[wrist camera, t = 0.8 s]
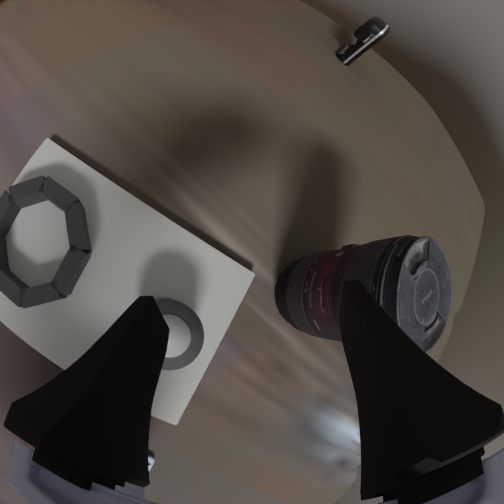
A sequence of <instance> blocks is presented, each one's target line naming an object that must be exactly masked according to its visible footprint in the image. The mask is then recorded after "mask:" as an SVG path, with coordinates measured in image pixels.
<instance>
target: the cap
mask: <svg viewBox="0 0 504 504" xmlns="http://www.w3.org/2000/svg"><path fill="white" fill-rule="evenodd" d="M154 299H155V301H156V303H157V305H158V307H159V309H160V311H161V313H162V315H163V317H164V319H165V321H166V323H167V325H168V327H169V329H170V332H169V339H168V346H167V352H166V355H165V359H164V363H163V366H162V370H177V369H181V368H183V367H185V366H187V365H189V364H190V363H192V362H193V361H194V360H195V359H196V358H197V356H198V355H199V353H200V351H201V349H202V346H203V342H204V330H203V325H202V323H201V321H200V319H199V317H198V316H197V314H196V313H195V312H194V311H193V310H192V309H191V308H190V307H188V306H187V305H185V304H183V303H181V302H179V301H177V300H174V299H172V298H168V297H157V298H154Z"/></svg>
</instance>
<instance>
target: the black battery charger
mask: <svg viewBox="0 0 504 504" xmlns="http://www.w3.org/2000/svg"><path fill="white" fill-rule="evenodd" d="M389 31H390V27H389V26H388V25H387V24H386V23H385V22H384V21H382V20H381V19H380V18H379V17H373V18H371V19H369V20H368V21H367V22H365V23H364V24H363V25H361V26H360V27H359V28H358V29H357V30H356V31H355V33H354V35H355V37H356V38H357V39H358V40H357V44H354V45H351V46H343V47H342V48H341V49H340V50H339V51H338V52H337V56H338V58H339V59H340V60H341V61H343V63H344V64H346V65H350V64H351V63H352V62H353V61H355V60H356V59H357V58H358V57H360V56H361V55H362V54H363V53H365V52H366V51H367V50H368V49H370V48H371V47H372V46H374V45H375V44H376V43H377V42H379V41H380V40H381V39H383V38H384V37H385V36H386V35H387V34H388V33H389Z"/></svg>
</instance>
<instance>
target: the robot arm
mask: <svg viewBox="0 0 504 504" xmlns="http://www.w3.org/2000/svg"><path fill="white" fill-rule="evenodd" d="M339 324H340V331H341V337H342V343H343V347H344V351H345V355H346V358H347V362H348V366H349V370H350V374H351V378H352V382H353V386H354V390H355V394H356V400H357V406H358V415H359V426H360V440H361V489H360V492H361V500H366V499H371V498H376V497H380V496H383V502H382V503H378V504H504V448H503V449H502V450H500V451H498V452H497V453H495V454H494V455H492V456H490V457H488V458H487V459H484V460H482V461H481V456H483V455H484V453H485V451H484V447H483V446H484V445H486V444H488V443H489V442H491V441H492V440H494V439H496V438H497V437H498V436H500V435H501V434H503V433H504V412H503V409H502V407H501V405H500V404H498V403H496V402H494V401H493V400H491V399H489V398H487V397H485V396H484V395H482V394H480V393H478V392H477V391H475V390H473V389H472V388H470V387H469V386H467V385H466V384H464V383H463V382H461V381H460V380H458V379H457V378H456V377H454V376H453V375H452V374H451V373H449V372H448V371H447V370H445V369H444V368H443V367H441V366H440V365H439V364H438V363H437V362H435V361H434V360H433V359H432V358H431V357H430V356H428V355H427V354H426V353H425V352H424V351H423V350H422V349H421V348H420V347H419V346H418V345H417V344H416V343H415V342H414V341H413V340H412V339H411V338H410V337H409V336H408V335H407V334H406V333H405V332H404V331H403V330H402V329H401V328H400V327H399V326H398V325H397V324H396V322H395V321H394V320H393V319H392V318H391V317H390V316H389V314H388V313H387V312H386V311H385V310H384V309H383V308H382V306H381V305H380V304H379V303H378V302H377V300H376V299H375V298H374V297H373V296H372V294H371V293H370V292H369V291H368V289H367V288H366V287H365V286H364V285H363V283H362V282H361V281H360V280H352V281H343V286H342V296H341V305H340V314H339ZM169 332H170V329H169V327H168V325H167V323H166V321H165V319H164V317H163V315H162V313H161V311H160V309H159V307H158V305H157V303H156V301H155V299H154V297H153V296H139V297H138V298H137V299H136V300H135V301H134V302H133V303H132V304H131V305H130V306H129V307H128V308H127V309H126V310H125V312H124V313H123V314H122V315H121V316H120V317H119V318H118V319H117V320H116V321H115V322H114V323H113V324H112V325H111V327H110V328H109V329H108V330H107V331H106V332H105V333H104V334H103V335H102V336H101V337H100V338H99V339H98V340H97V341H96V342H95V343H94V344H93V345H92V346H91V347H90V348H89V349H88V350H87V351H86V352H85V353H84V354H83V355H82V356H81V357H80V358H79V359H78V360H76V361H75V362H74V363H73V364H72V365H71V366H69V367H68V368H67V369H66V370H64V371H63V372H62V373H60V374H59V375H58V376H56V377H55V378H54V379H52V380H51V381H50V382H48V383H47V384H45V385H44V386H42V387H40V388H39V389H37V390H35V391H34V392H32V393H30V394H28V395H26V396H24V397H22V398H20V399H18V400H16V401H14V402H13V403H12V404H11V406H10V409H9V411H8V414H7V416H6V419H5V422H4V427H5V428H7V429H8V430H9V431H11V432H12V433H14V434H15V435H16V436H18V437H19V438H21V439H22V440H24V441H25V442H27V443H28V444H30V445H31V446H33V447H34V448H35V451H34V450H33V449H31V448H29V447H28V446H26V445H25V444H23V443H22V442H20V441H18V440H17V439H16V440H15V442H14V445H13V448H12V451H11V455H10V458H9V462H8V465H7V469H6V473H5V477H4V479H5V481H6V482H7V483H9V484H10V485H11V486H12V487H13V488H14V489H15V490H16V491H17V492H18V493H19V494H20V495H21V496H23V497H24V499H25V500H26V501H27V502H28V503H29V504H158V503H154V502H150V501H147V500H145V495H144V489H143V487H146V486H147V485H149V484H150V481H149V471H150V469H151V467H152V466H153V464H154V462H155V460H154V458H153V457H152V456H150V455H148V440H149V427H150V418H151V410H152V404H153V399H154V395H155V391H156V387H157V384H158V380H159V377H160V373H161V370H162V366H163V363H164V359H165V355H166V352H167V346H168V339H169ZM148 462H149V464H148Z"/></svg>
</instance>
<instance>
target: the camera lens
mask: <svg viewBox="0 0 504 504" xmlns="http://www.w3.org/2000/svg"><path fill="white" fill-rule="evenodd" d="M352 280H360V281H361V282H362V283H363V285H364V286H365V287H366V288H367V289H368V291H369V292H370V293H371V294H372V296H373V297H374V298H375V299H376V300H377V302H378V303H379V304H380V305H381V306H382V308H383V309H384V310H385V311H386V312H387V313H388V314H389V316H390V317H391V318H392V319H393V320H394V321H395V322H396V324H397V325H398V326H399V327H400V328H401V329H402V330H403V331H404V332H405V333H406V334H407V335H408V336H409V337H410V338H411V339H412V340H413V341H414V342H415V343H416V344H417V345H418V346H419V347H420V348H421V349H422V350H423V351H424V352H425V353H427V352H428V351H429V350H431V349H432V348H433V347H434V346H435V344H436V343H437V341H438V340H439V339H440V337H441V335H442V333H443V331H444V328H445V325H446V322H447V319H448V316H449V311H450V305H451V294H452V286H451V276H450V269H449V265H448V262H447V259H446V256H445V254H444V251H443V250H442V248H441V246H440V245H439V244H438V243H437V242H436V241H435V240H434V239H433V238H431V237H427V236H422V237H416V236H411V235H405V236H401V237H394V238H388V239H383V240H377V241H373V242H370V243H367V244H364V245H357V244H351V245H346V246H343V247H342V249H340V250H331V251H324V252H318V253H314V254H312V255H309V256H307V257H303V258H301V259H299V260H297V261H296V262H294V263H293V264H292V265H291V266H289V267H288V268H287V269H285V270H284V271H283V273H282V274H281V276H280V277H279V280H278V282H277V285H276V290H275V299H276V305H277V308H278V310H279V313H280V314H281V315H282V317H283V318H284V319H285V320H286V321H287V322H289V323H290V324H291V325H292V326H293V327H295V328H296V329H298V330H300V331H303V332H305V333H307V334H309V335H312V336H316V337H320V338H325V339H330V340H336V341H341V342H342V337H341V331H340V324H339V314H340V305H341V296H342V286H343V281H352Z"/></svg>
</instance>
